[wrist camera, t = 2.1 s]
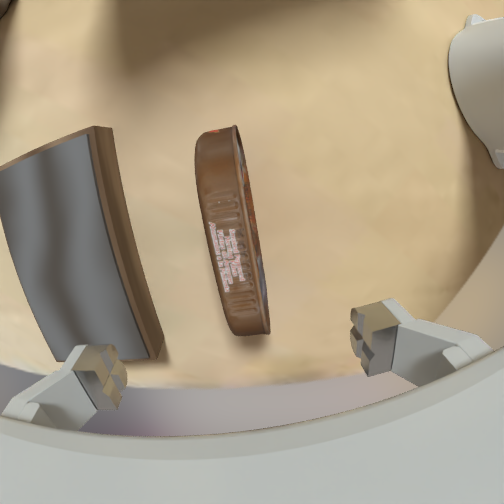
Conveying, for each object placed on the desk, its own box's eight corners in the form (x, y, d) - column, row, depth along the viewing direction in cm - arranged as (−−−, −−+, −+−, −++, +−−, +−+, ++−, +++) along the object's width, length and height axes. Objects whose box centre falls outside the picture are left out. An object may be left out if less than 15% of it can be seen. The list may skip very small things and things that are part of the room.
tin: (268, 299, 27) (281, 357, 19) (234, 305, 27) (235, 364, 19) (240, 128, 22) (243, 116, 14) (201, 136, 22) (183, 128, 14)
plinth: (112, 128, 21) (91, 125, 17) (164, 336, 28) (156, 362, 24) (14, 166, 21) (-12, 171, 17) (70, 343, 28) (55, 364, 24)
